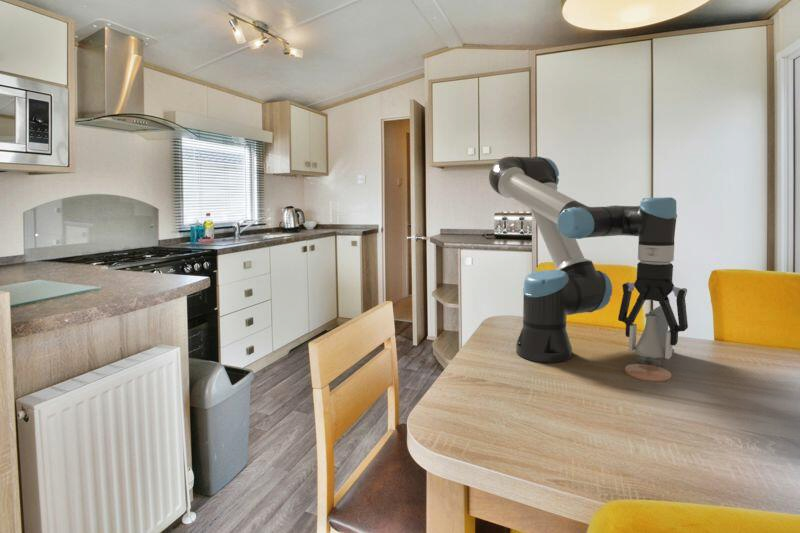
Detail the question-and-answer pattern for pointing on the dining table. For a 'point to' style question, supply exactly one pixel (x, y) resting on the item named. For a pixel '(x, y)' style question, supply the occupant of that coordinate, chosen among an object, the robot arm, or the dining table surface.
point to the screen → (663, 332)
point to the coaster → (648, 372)
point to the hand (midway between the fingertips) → (649, 353)
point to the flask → (651, 339)
